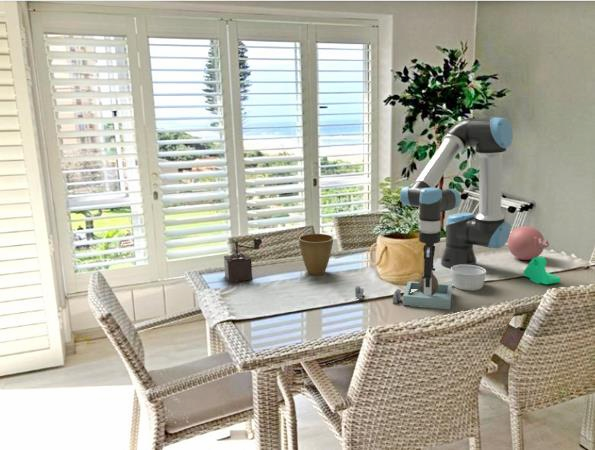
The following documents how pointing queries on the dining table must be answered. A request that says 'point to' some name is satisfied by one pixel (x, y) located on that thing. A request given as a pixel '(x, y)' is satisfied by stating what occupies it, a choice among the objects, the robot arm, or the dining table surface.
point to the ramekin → (468, 277)
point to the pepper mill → (239, 263)
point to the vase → (434, 284)
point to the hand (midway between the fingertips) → (428, 291)
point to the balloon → (526, 243)
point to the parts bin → (434, 301)
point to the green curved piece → (539, 272)
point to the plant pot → (316, 252)
